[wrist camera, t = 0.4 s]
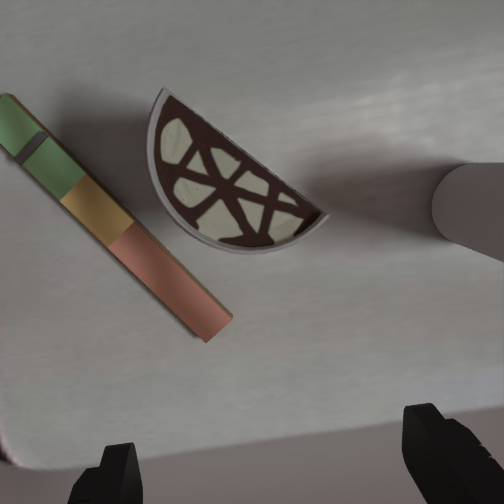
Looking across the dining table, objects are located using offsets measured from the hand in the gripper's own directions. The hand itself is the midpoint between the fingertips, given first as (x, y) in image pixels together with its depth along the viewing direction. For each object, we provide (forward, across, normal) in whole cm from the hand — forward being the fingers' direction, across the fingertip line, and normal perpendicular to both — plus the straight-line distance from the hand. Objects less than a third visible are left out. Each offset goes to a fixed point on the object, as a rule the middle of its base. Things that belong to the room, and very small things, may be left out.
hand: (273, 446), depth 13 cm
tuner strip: (+24, +9, -1) cm, 26 cm away
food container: (+24, 0, -4) cm, 24 cm away
